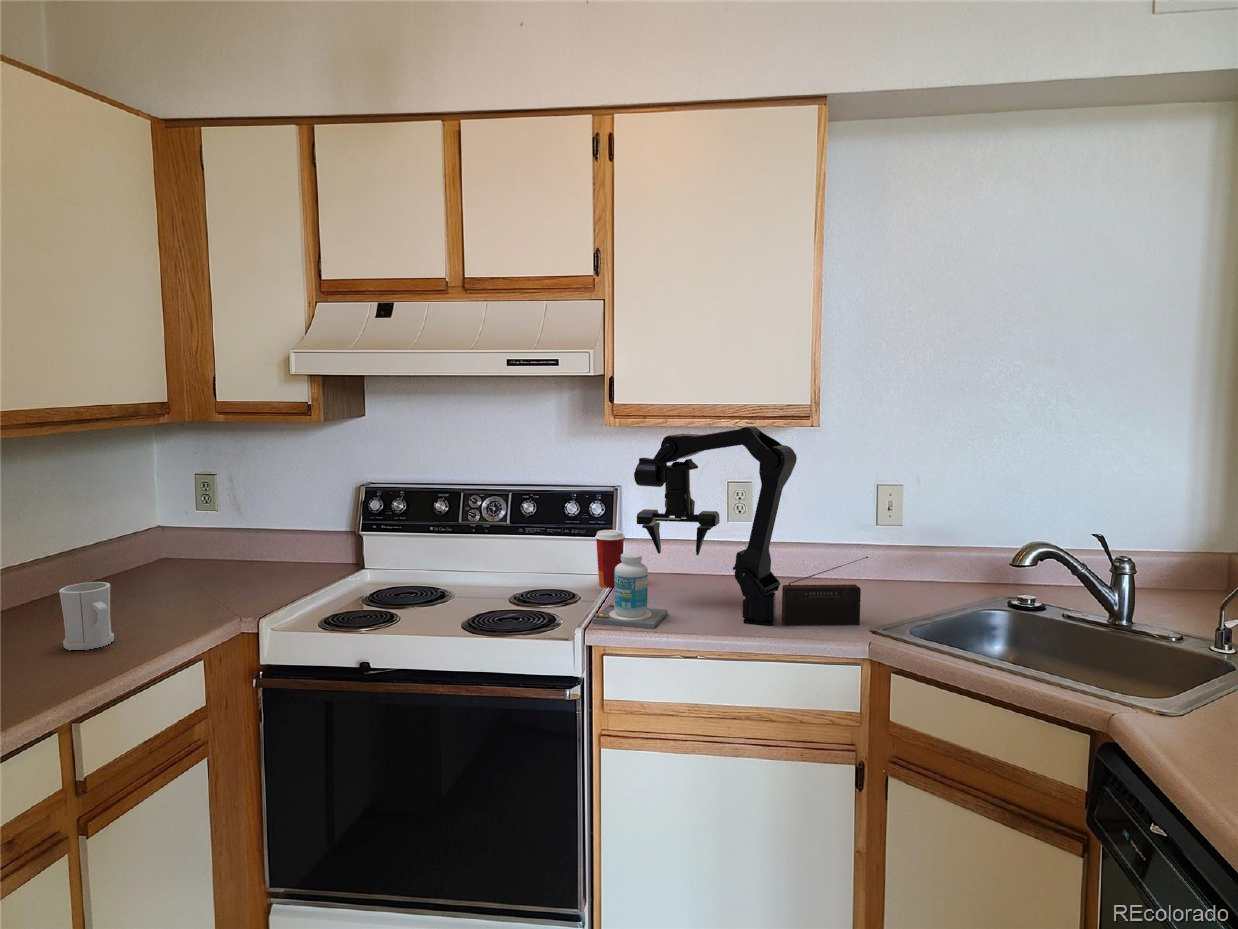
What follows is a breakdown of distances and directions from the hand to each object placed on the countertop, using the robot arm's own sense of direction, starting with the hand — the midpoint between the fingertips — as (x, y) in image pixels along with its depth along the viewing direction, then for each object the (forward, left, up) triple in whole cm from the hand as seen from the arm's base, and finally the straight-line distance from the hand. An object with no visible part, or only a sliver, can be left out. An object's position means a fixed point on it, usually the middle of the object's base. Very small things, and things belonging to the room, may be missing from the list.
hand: (678, 554), depth 201 cm
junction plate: (+8, +13, -13) cm, 20 cm away
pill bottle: (+8, +13, -12) cm, 19 cm away
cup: (+107, +64, -13) cm, 125 cm away
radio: (-34, +4, -13) cm, 37 cm away
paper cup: (+22, -14, -13) cm, 29 cm away
